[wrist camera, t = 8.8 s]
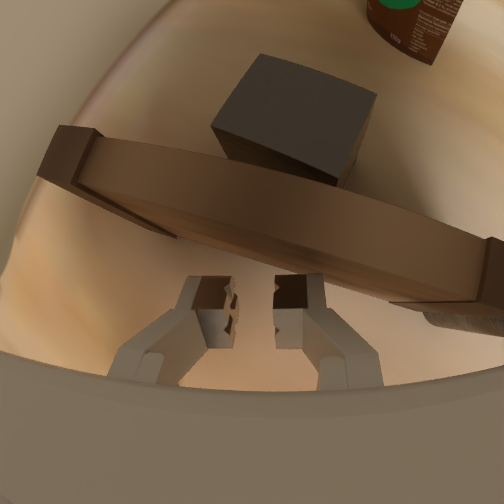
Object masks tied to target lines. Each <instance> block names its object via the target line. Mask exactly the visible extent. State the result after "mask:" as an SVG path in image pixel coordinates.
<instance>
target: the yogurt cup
mask: <svg viewBox="0 0 504 504" xmlns="http://www.w3.org/2000/svg"><path fill="white" fill-rule="evenodd" d="M462 2H463V0H367V17H368V20H369V22H370V24H371V25H372V27H373V28H374V29H375V31H376V32H377V33H378V34H379V35H380V36H381V37H382V38H383V39H384V40H386V41H387V42H388V43H389V44H391V45H392V46H394V47H395V48H397V49H398V50H400V51H401V52H403V53H405V54H407V55H408V56H410V57H412V58H414V59H416V60H419V61H421V62H423V63H426V64H429V65H432V64H433V62H434V60H435V58H436V56H437V54H438V52H439V50H440V48H441V46H442V44H443V42H444V40H445V38H446V36H447V34H448V32H449V30H450V28H451V26H452V23H453V21H454V19H455V17H456V15H457V13H458V11H459V9H460V6H461V4H462Z"/></svg>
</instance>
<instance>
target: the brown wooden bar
mask: <svg viewBox="0 0 504 504" xmlns="http://www.w3.org/2000/svg"><path fill="white" fill-rule="evenodd" d="M37 176H39V177H41V178H43V179H45V180H47V181H49V182H51V183H53V184H55V185H57V186H59V187H61V188H63V189H65V190H67V191H69V192H71V193H73V194H75V195H77V196H79V197H82V198H84V199H86V200H88V201H90V202H92V203H94V204H96V205H98V206H100V207H102V208H104V209H106V210H108V211H110V212H112V213H114V214H116V215H119V216H121V217H123V218H125V219H127V220H129V221H131V222H133V223H135V224H137V225H139V226H142V227H144V228H146V229H148V230H151V231H154V232H157V233H160V234H163V235H166V236H169V237H172V238H176V239H177V236H180V237H183V238H186V239H190V240H193V241H196V242H199V243H202V244H205V245H209V246H212V247H215V248H218V249H221V250H225V251H228V252H231V253H234V254H237V255H240V256H244V257H247V258H250V259H253V260H256V261H260V262H263V263H266V264H269V265H273V266H276V267H279V268H282V269H285V270H289V271H292V272H295V273H298V274H309V273H322V274H323V281H324V282H327V283H331V284H334V285H337V286H340V287H344V288H347V289H350V290H354V291H357V292H360V293H363V294H367V295H370V296H373V297H376V298H380V299H383V300H386V301H389V303H391V304H394V305H398V306H401V307H404V308H408V309H411V310H414V311H419V312H432V313H446V314H461V315H477V316H496V317H504V241H501V240H499V239H497V238H494V237H489V238H487V239H482V238H480V237H478V236H475V235H473V234H470V233H468V232H465V231H463V230H460V229H458V228H455V227H452V226H450V225H447V224H445V223H442V222H439V221H437V220H434V219H431V218H428V217H426V216H423V215H420V214H417V213H414V212H412V211H409V210H406V209H403V208H400V207H397V206H394V205H391V204H388V203H385V202H382V201H379V200H376V199H373V198H370V197H367V196H363V195H360V194H357V193H354V192H350V191H347V190H344V189H340V188H337V187H334V186H330V185H327V184H323V183H320V182H316V181H313V180H309V179H305V178H302V177H298V176H294V175H290V174H287V173H283V172H279V171H275V170H271V169H267V168H263V167H259V166H254V165H250V164H246V163H242V162H237V161H233V160H228V159H224V158H219V157H215V156H210V155H205V154H200V153H195V152H190V151H185V150H180V149H174V148H169V147H163V146H158V145H152V144H146V143H140V142H133V141H127V140H120V139H113V138H106V137H104V136H103V135H102V134H101V133H100V132H98V131H97V130H96V129H95V128H87V127H77V126H66V125H59V126H58V128H57V131H56V132H55V134H54V136H53V138H52V140H51V143H50V145H49V147H48V149H47V151H46V154H45V156H44V158H43V161H42V163H41V166H40V168H39V170H38V173H37Z"/></svg>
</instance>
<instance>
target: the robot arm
mask: <svg viewBox="0 0 504 504" xmlns="http://www.w3.org/2000/svg"><path fill="white" fill-rule="evenodd" d="M274 283H275V292H274V298H273V318H274V326H275V341H276V349H303V352H304V353H305V354H306V356H307V357H308V359H309V360H310V361H311V363H312V364H313V366H314V367H315V368H316V370H317V371H318V373H319V375H318V384H317V391H297V392H265V391H234V390H216V389H202V388H190V387H180V386H179V384H178V382H179V381H180V380H181V379H182V377H183V376H184V375H185V374H186V373H187V372H188V371H189V370H190V369H191V368H192V367H193V366H194V364H195V363H196V362H197V361H198V360H199V359H200V358H201V357H202V356H203V355H204V353H205V352H206V351H207V350H208V348H233V345H234V340H235V334H236V332H235V327H234V326H235V325H236V324H237V323H238V317H239V303H238V296H237V295H236V294H235V293H234V291H235V286H236V285H235V281H234V277H233V276H189V277H187V279H186V281H185V284H184V286H183V289H182V291H181V294H180V296H179V299H178V301H177V304H176V307H175V309H170V310H169V311H167V312H166V313H165V314H163V315H162V316H161V317H159V318H158V319H157V320H155V321H154V322H153V323H152V324H150V325H149V326H148V327H146V328H145V329H144V330H142V331H141V332H140V333H138V334H137V335H136V336H134V337H133V338H132V339H130V340H129V341H128V342H126V343H125V344H124V345H122V346H121V347H120V348H119V350H118V352H117V354H116V356H115V359H114V361H113V363H112V365H111V368H110V370H109V372H108V374H107V376H102V375H97V374H91V373H86V372H81V371H77V370H72V369H68V368H63V367H59V366H55V365H51V364H47V363H43V362H39V361H35V360H31V359H28V358H24V357H20V356H17V355H14V354H10V353H7V352H4V351H1V350H0V504H504V365H503V366H499V367H495V368H490V369H486V370H482V371H477V372H472V373H468V374H463V375H457V376H452V377H447V378H441V379H435V380H429V381H422V382H415V383H408V384H400V385H391V386H384V384H383V378H382V372H381V367H380V361H379V356H378V352H377V351H376V350H374V349H373V348H372V347H371V346H370V345H369V344H368V343H367V342H366V341H365V340H364V339H363V338H362V337H361V336H360V335H359V334H358V333H357V332H356V331H355V330H354V329H353V328H351V327H350V326H349V325H348V324H347V323H346V322H345V321H344V320H343V319H342V318H341V317H340V316H339V315H338V314H337V313H336V312H335V311H334V310H333V309H332V308H327V307H326V298H325V289H324V281H323V274H322V273H309V274H294V275H275V282H274Z"/></svg>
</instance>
